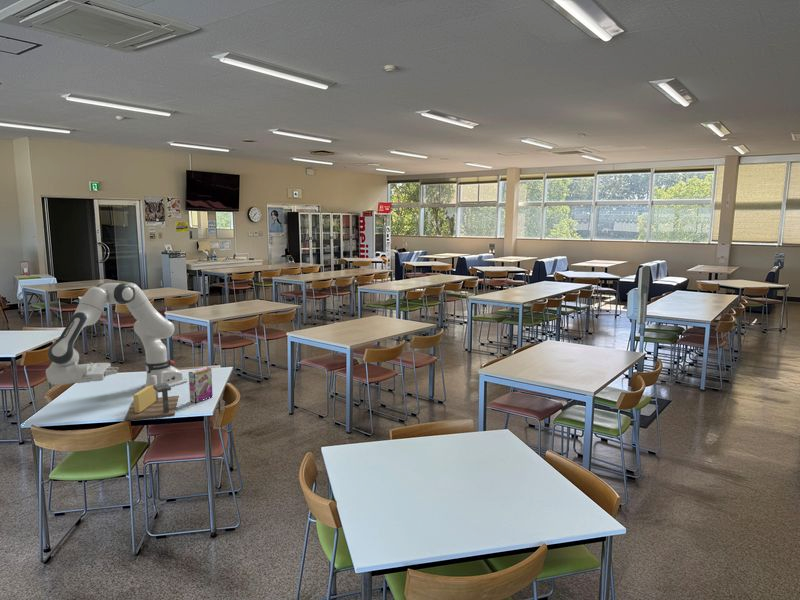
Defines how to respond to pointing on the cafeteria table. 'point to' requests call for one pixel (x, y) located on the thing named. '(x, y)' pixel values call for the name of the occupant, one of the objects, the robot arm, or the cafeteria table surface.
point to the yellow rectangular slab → (146, 396)
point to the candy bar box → (200, 384)
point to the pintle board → (156, 406)
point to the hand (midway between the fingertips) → (117, 370)
